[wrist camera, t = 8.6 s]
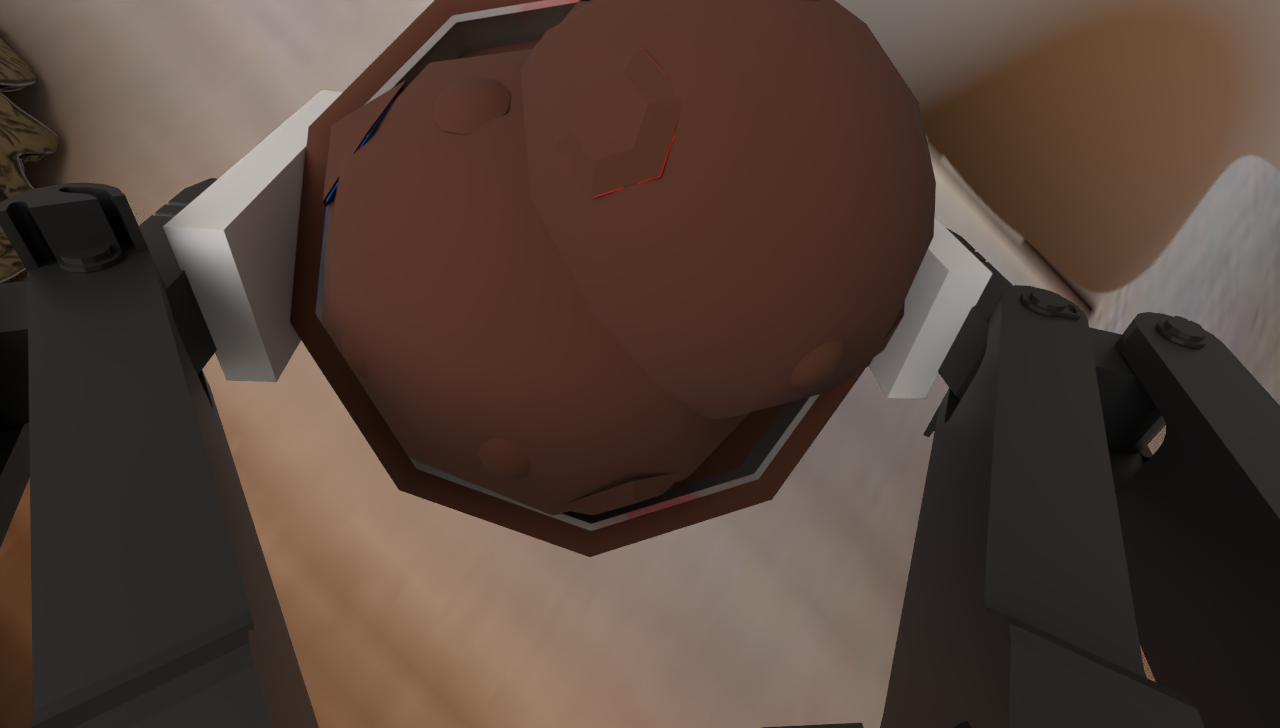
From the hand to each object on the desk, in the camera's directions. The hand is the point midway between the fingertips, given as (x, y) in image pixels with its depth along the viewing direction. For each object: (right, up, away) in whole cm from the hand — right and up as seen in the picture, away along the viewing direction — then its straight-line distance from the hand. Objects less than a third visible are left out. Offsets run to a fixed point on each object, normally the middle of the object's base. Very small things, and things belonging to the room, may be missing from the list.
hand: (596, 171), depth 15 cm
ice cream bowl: (-1, -3, +6) cm, 7 cm away
